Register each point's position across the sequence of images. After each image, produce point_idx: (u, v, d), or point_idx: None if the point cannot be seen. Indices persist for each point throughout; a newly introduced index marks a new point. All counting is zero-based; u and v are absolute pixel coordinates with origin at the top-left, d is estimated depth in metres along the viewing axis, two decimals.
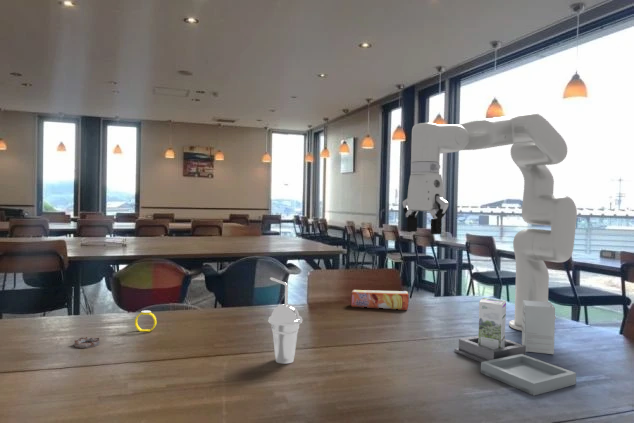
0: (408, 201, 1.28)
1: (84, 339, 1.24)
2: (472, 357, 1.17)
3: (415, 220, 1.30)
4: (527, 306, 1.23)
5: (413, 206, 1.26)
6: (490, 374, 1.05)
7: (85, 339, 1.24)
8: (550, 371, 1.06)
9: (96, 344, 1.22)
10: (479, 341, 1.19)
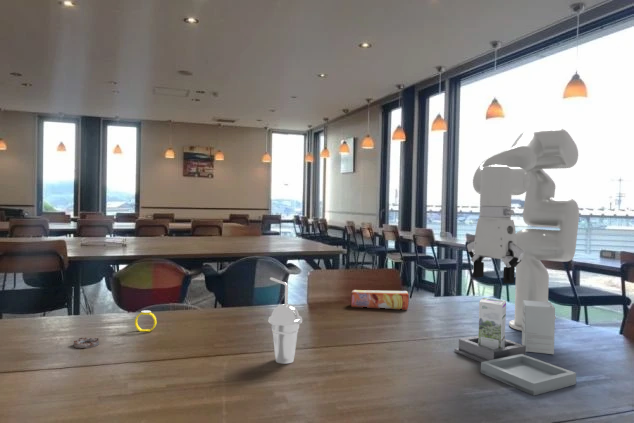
0: (475, 246, 1.22)
1: (84, 340, 1.23)
2: (472, 357, 1.17)
3: (482, 265, 1.23)
4: (527, 306, 1.23)
5: (482, 252, 1.20)
6: (490, 374, 1.05)
7: (84, 339, 1.24)
8: (550, 371, 1.06)
9: (95, 344, 1.22)
10: (479, 341, 1.19)
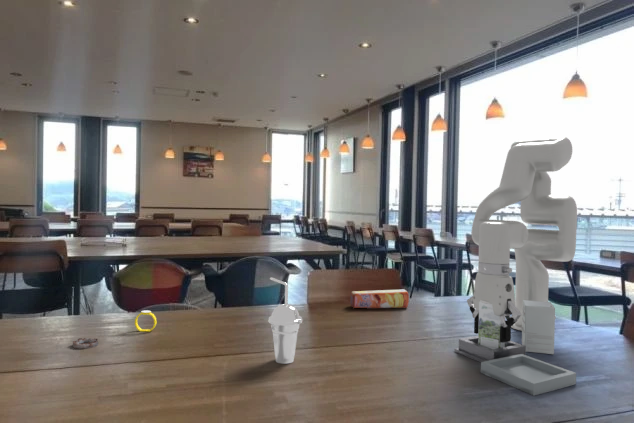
0: (474, 300, 1.22)
1: (83, 340, 1.23)
2: (472, 357, 1.17)
3: None
4: (527, 306, 1.23)
5: None
6: (490, 374, 1.05)
7: (83, 340, 1.23)
8: (550, 371, 1.06)
9: (95, 345, 1.21)
10: (479, 341, 1.19)
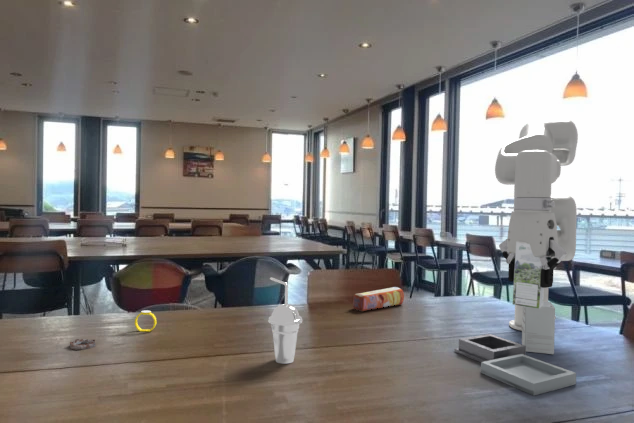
0: (509, 243, 1.07)
1: (80, 341, 1.22)
2: (472, 357, 1.17)
3: None
4: None
5: None
6: (490, 374, 1.05)
7: (81, 341, 1.22)
8: (550, 371, 1.06)
9: (92, 346, 1.20)
10: (514, 287, 1.03)
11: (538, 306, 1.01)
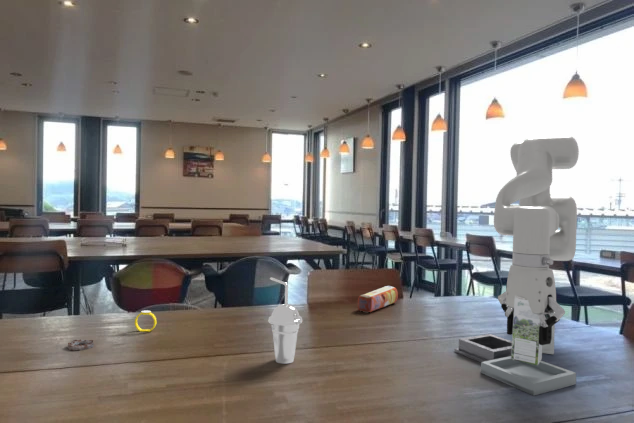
0: (507, 296, 1.07)
1: (78, 341, 1.22)
2: (472, 357, 1.17)
3: None
4: None
5: None
6: (490, 374, 1.05)
7: (79, 341, 1.22)
8: (550, 371, 1.06)
9: (90, 346, 1.20)
10: (513, 342, 1.03)
11: (536, 363, 1.01)
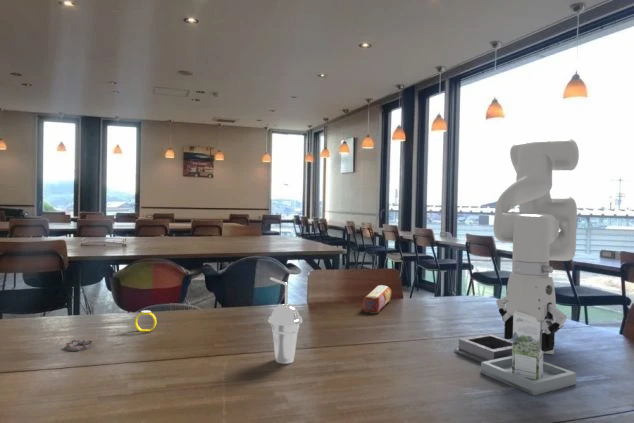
0: (507, 304, 1.07)
1: (77, 342, 1.21)
2: (472, 357, 1.17)
3: None
4: None
5: None
6: (490, 374, 1.05)
7: (77, 342, 1.21)
8: (550, 371, 1.06)
9: (88, 347, 1.19)
10: (513, 359, 1.03)
11: (537, 379, 1.01)
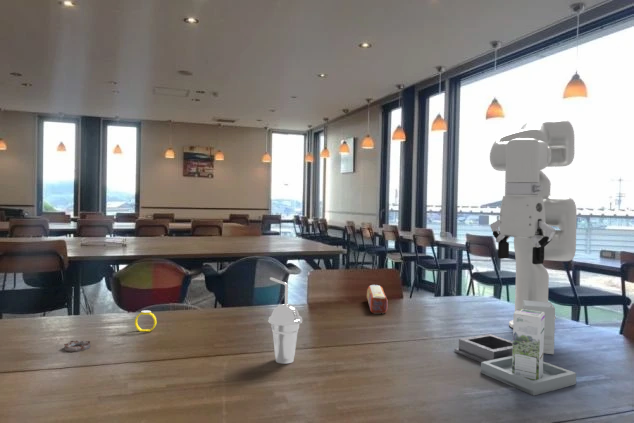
0: (501, 225, 1.14)
1: (75, 343, 1.21)
2: (472, 357, 1.17)
3: (507, 245, 1.17)
4: (527, 306, 1.23)
5: (508, 231, 1.13)
6: (490, 374, 1.05)
7: (75, 342, 1.21)
8: (550, 371, 1.06)
9: (86, 347, 1.19)
10: (513, 359, 1.03)
11: (537, 379, 1.01)
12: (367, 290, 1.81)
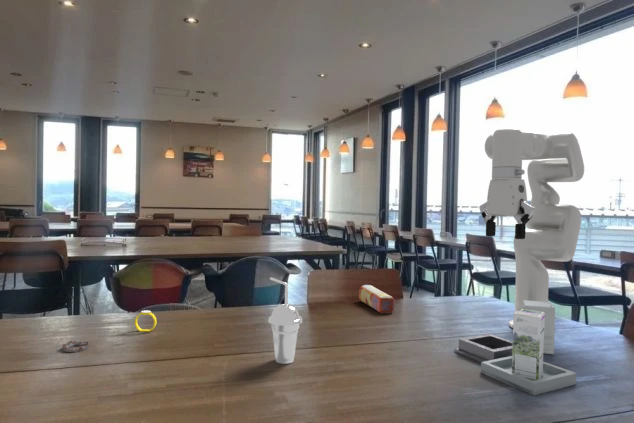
0: (488, 206, 1.28)
1: (73, 343, 1.20)
2: (472, 357, 1.17)
3: (494, 225, 1.30)
4: (527, 306, 1.23)
5: (494, 211, 1.26)
6: (490, 374, 1.05)
7: (74, 343, 1.20)
8: (550, 371, 1.06)
9: (85, 348, 1.18)
10: (513, 359, 1.03)
11: (537, 379, 1.01)
12: (361, 290, 1.80)
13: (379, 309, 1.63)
